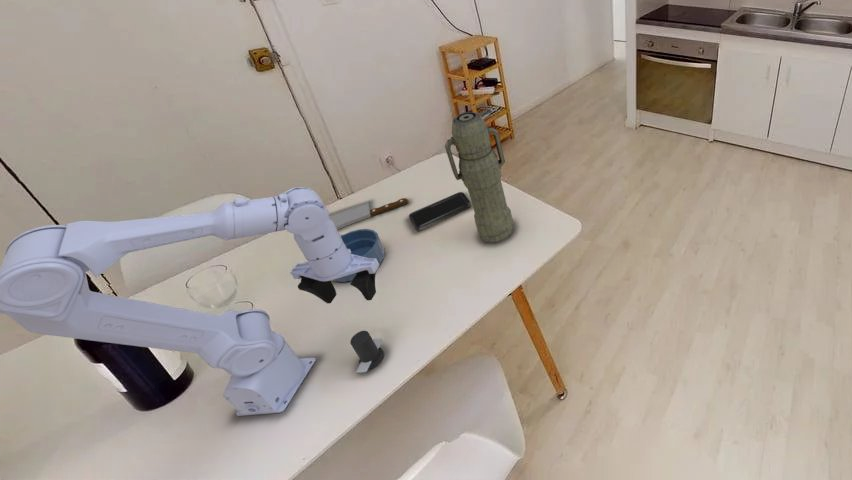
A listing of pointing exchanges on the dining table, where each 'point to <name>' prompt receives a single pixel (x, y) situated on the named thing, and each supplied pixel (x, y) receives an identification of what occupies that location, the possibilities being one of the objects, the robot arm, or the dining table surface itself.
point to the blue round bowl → (363, 247)
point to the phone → (439, 211)
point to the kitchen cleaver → (361, 213)
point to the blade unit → (367, 351)
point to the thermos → (481, 175)
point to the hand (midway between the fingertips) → (352, 297)
